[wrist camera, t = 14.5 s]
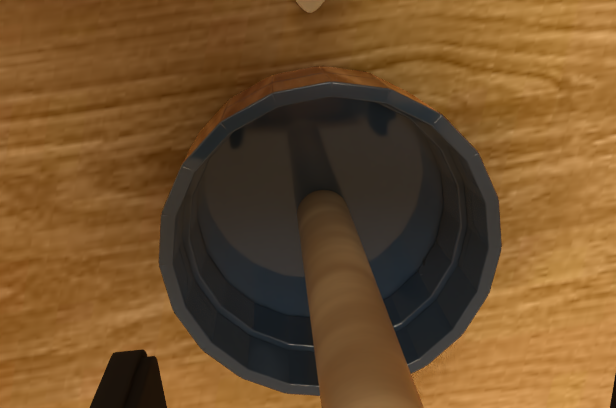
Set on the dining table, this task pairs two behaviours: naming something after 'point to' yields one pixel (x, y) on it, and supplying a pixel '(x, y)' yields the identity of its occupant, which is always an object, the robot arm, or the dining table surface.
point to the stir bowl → (362, 206)
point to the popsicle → (309, 4)
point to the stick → (349, 313)
